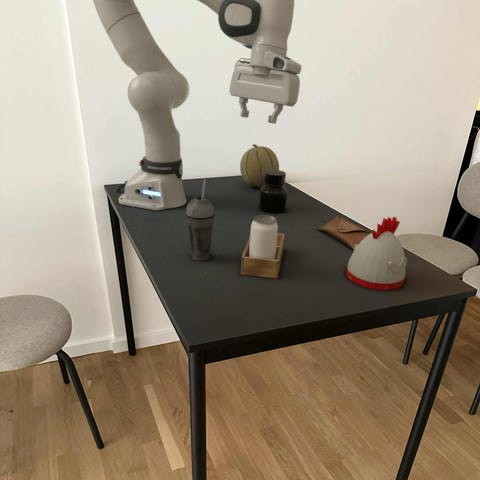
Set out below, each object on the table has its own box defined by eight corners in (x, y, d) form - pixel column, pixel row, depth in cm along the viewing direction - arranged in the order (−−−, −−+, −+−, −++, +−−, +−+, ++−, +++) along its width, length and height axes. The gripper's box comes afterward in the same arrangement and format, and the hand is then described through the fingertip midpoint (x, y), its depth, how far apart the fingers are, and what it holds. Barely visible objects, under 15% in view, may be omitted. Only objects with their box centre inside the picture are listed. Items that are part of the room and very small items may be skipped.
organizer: (240, 274, 111) (241, 257, 108) (250, 246, 126) (251, 230, 123) (277, 278, 110) (279, 261, 107) (283, 249, 124) (285, 234, 122)
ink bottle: (285, 205, 156) (288, 169, 150) (288, 213, 149) (292, 176, 143) (256, 204, 156) (259, 168, 150) (258, 213, 149) (261, 175, 142)
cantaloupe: (274, 194, 166) (277, 151, 158) (235, 189, 169) (236, 147, 161) (280, 183, 178) (284, 143, 170) (244, 179, 181) (245, 139, 173)
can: (272, 272, 111) (276, 225, 104) (246, 269, 112) (248, 222, 105) (276, 261, 116) (280, 216, 110) (251, 258, 117) (253, 213, 111)
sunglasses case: (315, 228, 138) (327, 208, 136) (329, 236, 142) (340, 217, 141) (355, 250, 125) (368, 229, 123) (369, 259, 129) (382, 238, 128)
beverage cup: (182, 253, 120) (180, 176, 109) (208, 249, 122) (209, 174, 112) (191, 264, 114) (190, 184, 104) (218, 261, 117) (220, 182, 106)
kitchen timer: (415, 281, 112) (431, 223, 104) (376, 295, 105) (390, 233, 97) (373, 260, 121) (385, 204, 113) (334, 271, 115) (344, 213, 107)
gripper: (228, 55, 118) (221, 112, 124) (293, 62, 108) (281, 125, 114) (244, 59, 123) (235, 114, 129) (307, 67, 112) (295, 127, 118)
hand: (257, 120), depth 121 cm, fingers open, 8 cm apart
